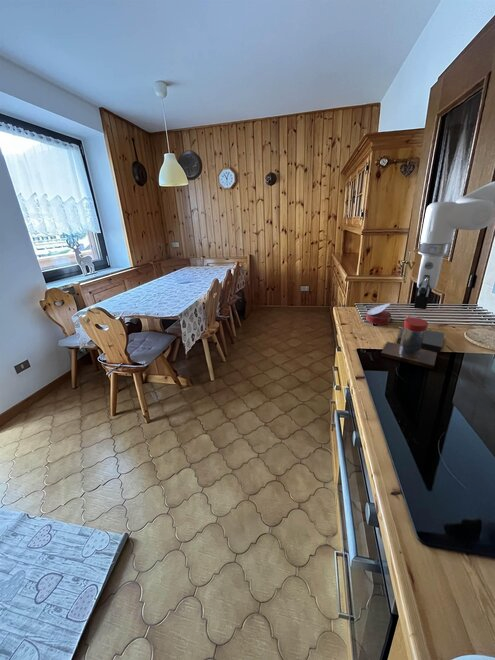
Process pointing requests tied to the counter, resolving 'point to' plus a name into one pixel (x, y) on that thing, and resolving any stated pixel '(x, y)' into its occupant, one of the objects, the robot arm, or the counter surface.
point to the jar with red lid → (412, 337)
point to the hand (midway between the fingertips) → (422, 302)
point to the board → (422, 360)
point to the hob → (429, 340)
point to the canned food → (378, 315)
